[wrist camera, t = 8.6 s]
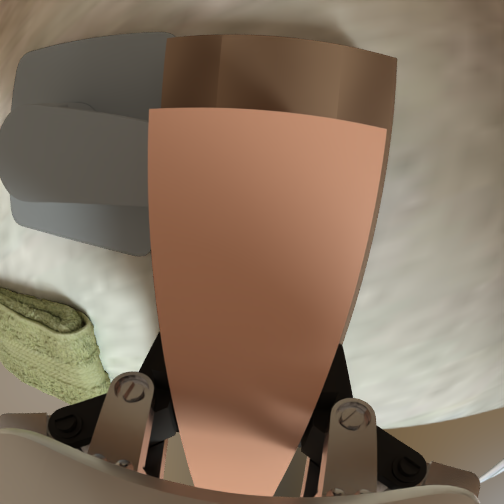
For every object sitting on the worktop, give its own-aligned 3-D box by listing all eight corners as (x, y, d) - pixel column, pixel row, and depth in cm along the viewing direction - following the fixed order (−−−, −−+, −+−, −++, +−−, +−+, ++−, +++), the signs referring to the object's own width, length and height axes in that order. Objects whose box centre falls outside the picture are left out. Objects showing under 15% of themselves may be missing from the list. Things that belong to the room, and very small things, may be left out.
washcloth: (-22, 270, 20) (-41, 285, 17) (95, 303, 19) (73, 329, 16) (16, 361, 26) (3, 377, 23) (129, 407, 24) (118, 431, 22)
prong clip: (318, 126, 11) (386, 128, 4) (276, 386, 17) (269, 501, 10) (232, 118, 11) (149, 108, 4) (222, 380, 17) (196, 492, 10)
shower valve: (168, 320, 12) (-29, 248, 12) (200, 262, 17) (20, 219, 17) (214, -2, 6) (-29, 53, 7) (238, 39, 11) (28, 55, 12)
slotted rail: (374, 70, 11) (396, 58, 8) (307, 397, 20) (308, 429, 18) (188, 53, 12) (166, 38, 9) (191, 384, 21) (181, 414, 18)
